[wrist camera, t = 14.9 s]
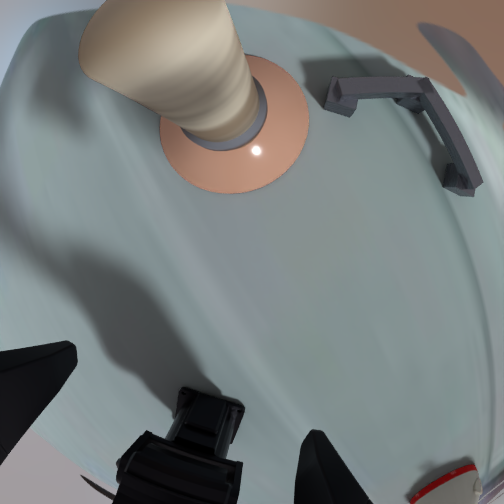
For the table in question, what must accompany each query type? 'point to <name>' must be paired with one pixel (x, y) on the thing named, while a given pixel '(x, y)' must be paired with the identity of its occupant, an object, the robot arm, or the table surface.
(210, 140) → the birch ring post
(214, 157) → the terracotta coaster
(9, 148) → the table surface
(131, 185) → the table surface
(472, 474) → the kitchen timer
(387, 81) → the grey angled bracket
